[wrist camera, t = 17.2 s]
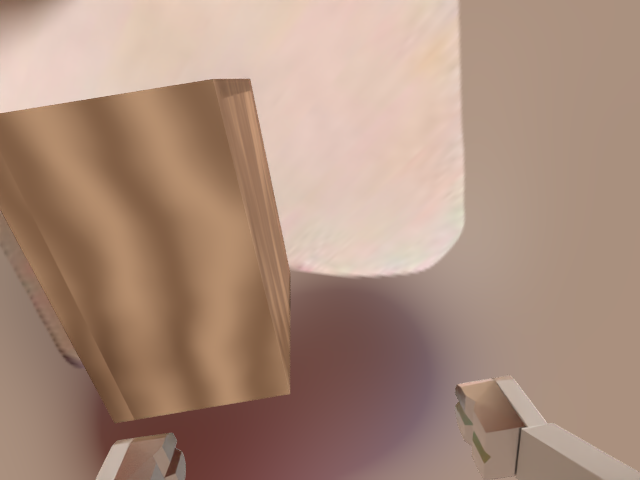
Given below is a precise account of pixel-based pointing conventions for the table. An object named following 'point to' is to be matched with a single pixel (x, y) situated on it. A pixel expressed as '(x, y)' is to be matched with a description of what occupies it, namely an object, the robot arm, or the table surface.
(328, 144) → the table surface
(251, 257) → the cabinet
